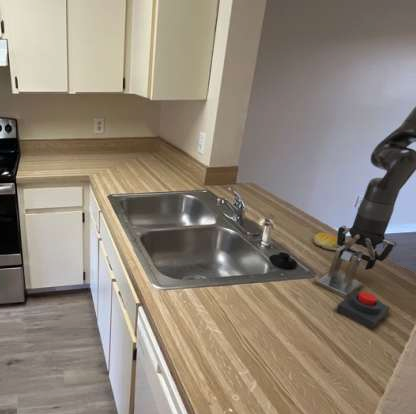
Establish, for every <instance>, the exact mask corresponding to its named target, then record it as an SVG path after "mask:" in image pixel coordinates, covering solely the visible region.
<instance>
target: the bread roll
mask: <svg viewBox="0 0 416 414" xmlns="http://www.w3.org/2000/svg"><path fill="white" fill-rule="evenodd" d="M337 238H338V236H336V235H332V234H331V233H328V232H319V233H317V234H315V235H314V238H313V243H314V244H315V245H317V247H322V248H323V249H325V250H329V251H334V252H336V250H337V249H338V248H339V247H341V246H339V245H337Z"/></svg>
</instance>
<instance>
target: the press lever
mask: <svg viewBox="0 0 416 414" xmlns="http://www.w3.org/2000/svg"><path fill="white" fill-rule="evenodd" d="M357 252H358V251H357V250H353V249H351V248H350V249H349V251H343V254H342V256H341V259H343V260H342V261H344V260H345V261H346V262H349V263H350V261H351V258H352V256H353V255H354V254H355V253H357ZM369 258H370V255H367V254H365V253H363V255H362V257H361V260H363V261H366V262H368V260H369Z"/></svg>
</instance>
